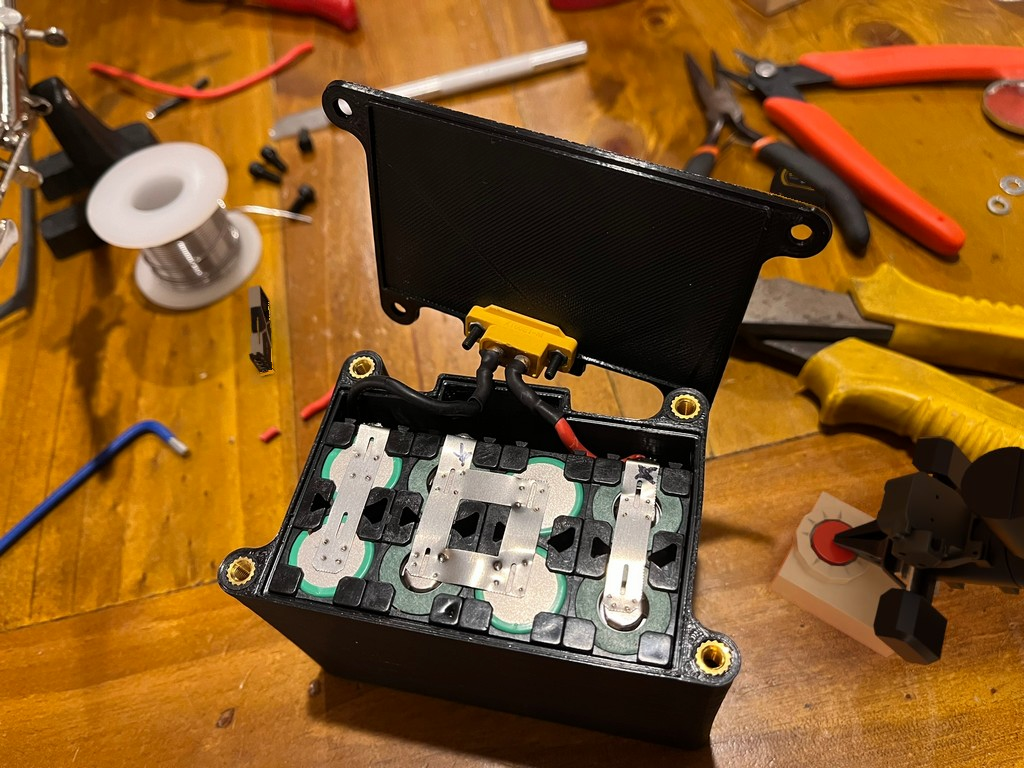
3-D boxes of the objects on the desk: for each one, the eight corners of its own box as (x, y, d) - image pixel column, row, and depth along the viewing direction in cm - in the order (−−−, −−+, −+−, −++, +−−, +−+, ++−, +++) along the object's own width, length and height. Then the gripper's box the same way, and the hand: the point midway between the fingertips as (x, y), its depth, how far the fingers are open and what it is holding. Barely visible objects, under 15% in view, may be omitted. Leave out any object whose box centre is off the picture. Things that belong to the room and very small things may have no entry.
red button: (860, 541, 74) (865, 535, 72) (842, 576, 72) (847, 570, 71) (820, 519, 75) (824, 513, 74) (802, 553, 74) (806, 547, 72)
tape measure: (765, 216, 101) (770, 196, 98) (770, 177, 104) (775, 156, 101) (820, 221, 99) (827, 201, 96) (823, 182, 103) (830, 161, 99)
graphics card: (275, 375, 97) (271, 354, 93) (253, 377, 97) (248, 355, 93) (270, 302, 103) (266, 278, 99) (250, 303, 102) (245, 279, 98)
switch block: (925, 570, 77) (953, 549, 71) (886, 657, 73) (911, 643, 67) (806, 506, 81) (822, 481, 75) (763, 586, 78) (777, 566, 72)
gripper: (994, 391, 60) (814, 409, 72) (950, 617, 52) (757, 593, 65) (1053, 467, 64) (875, 471, 77) (1021, 685, 57) (828, 650, 69)
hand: (835, 540), depth 72 cm, fingers closed, pressing on red button
